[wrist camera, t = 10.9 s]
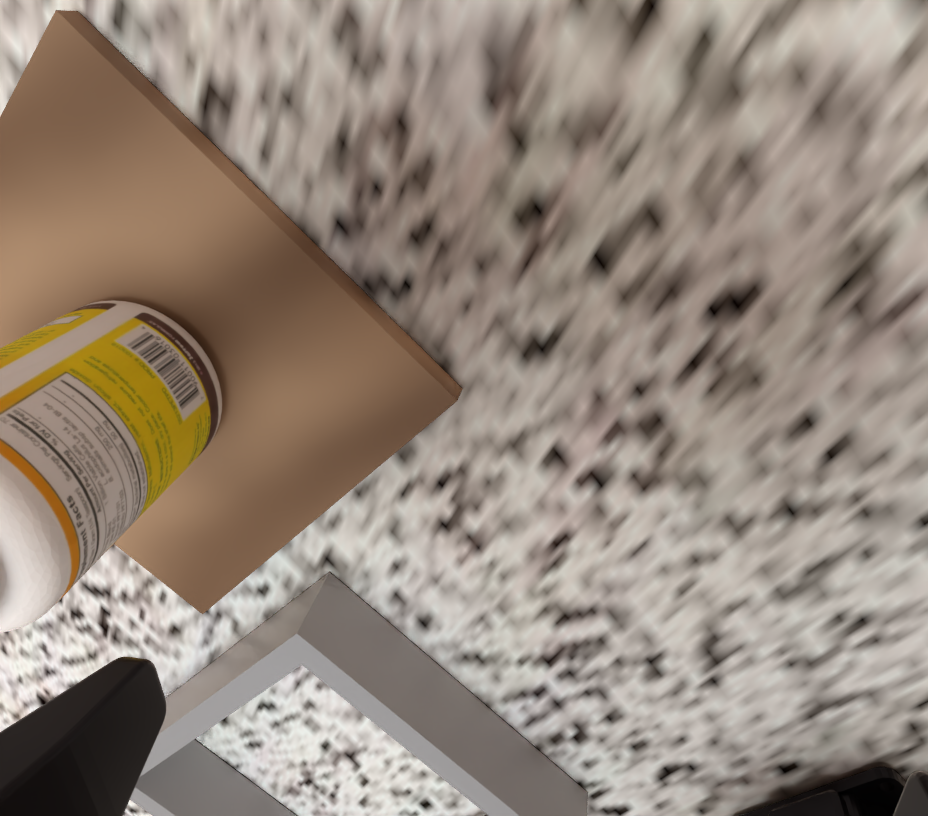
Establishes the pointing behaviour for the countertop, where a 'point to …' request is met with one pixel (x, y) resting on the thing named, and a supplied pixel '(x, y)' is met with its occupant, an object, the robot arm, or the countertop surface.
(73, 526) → the supplement bottle
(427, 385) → the walnut board
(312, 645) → the grey square frame
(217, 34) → the countertop surface
